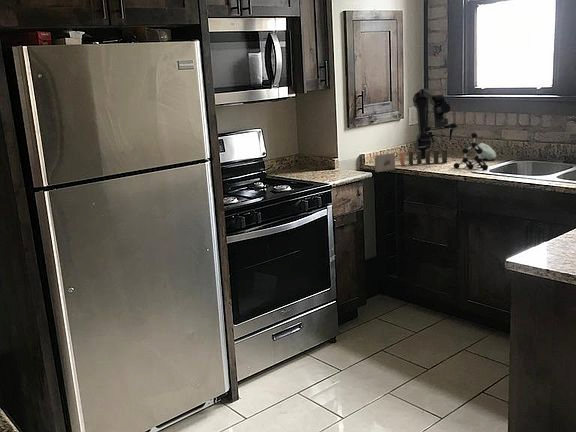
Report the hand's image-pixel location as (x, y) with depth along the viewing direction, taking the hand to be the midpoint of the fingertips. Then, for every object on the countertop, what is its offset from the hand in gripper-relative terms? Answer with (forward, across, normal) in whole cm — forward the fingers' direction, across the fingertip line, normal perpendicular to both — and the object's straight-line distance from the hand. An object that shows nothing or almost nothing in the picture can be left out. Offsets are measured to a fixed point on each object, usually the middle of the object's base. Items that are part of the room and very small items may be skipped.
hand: (441, 142), depth 366 cm
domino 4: (+11, -9, +8) cm, 16 cm away
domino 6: (+11, +1, +9) cm, 15 cm away
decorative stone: (+12, +25, +16) cm, 32 cm away
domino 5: (+11, -4, +8) cm, 15 cm away
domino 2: (+10, -19, +6) cm, 22 cm away
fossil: (+13, -34, -10) cm, 38 cm away
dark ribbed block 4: (+11, -14, +7) cm, 19 cm away
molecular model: (+17, +17, -7) cm, 25 cm away
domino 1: (+10, -24, +5) cm, 26 cm away
